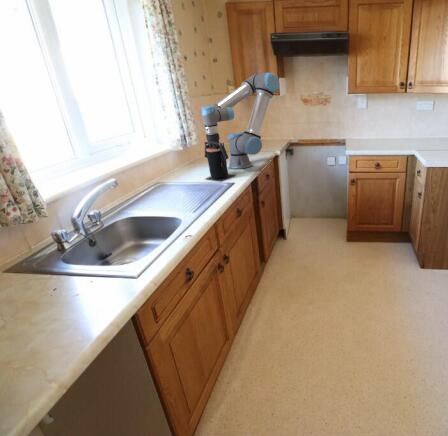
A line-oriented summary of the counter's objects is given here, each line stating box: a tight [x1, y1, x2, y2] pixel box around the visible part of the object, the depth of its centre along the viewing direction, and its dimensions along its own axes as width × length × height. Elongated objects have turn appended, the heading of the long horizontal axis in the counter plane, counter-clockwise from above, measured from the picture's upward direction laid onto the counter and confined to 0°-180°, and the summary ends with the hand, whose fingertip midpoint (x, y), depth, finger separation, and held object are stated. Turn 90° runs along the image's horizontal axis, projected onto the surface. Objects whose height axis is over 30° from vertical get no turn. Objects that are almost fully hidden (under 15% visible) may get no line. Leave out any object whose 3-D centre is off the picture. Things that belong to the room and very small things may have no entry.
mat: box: [206, 173, 236, 182], centre depth 205 cm, size 13×13×1 cm
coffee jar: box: [206, 148, 229, 179], centre depth 200 cm, size 11×11×18 cm
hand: (218, 169), depth 201 cm, fingers closed on coffee jar, 11 cm apart
